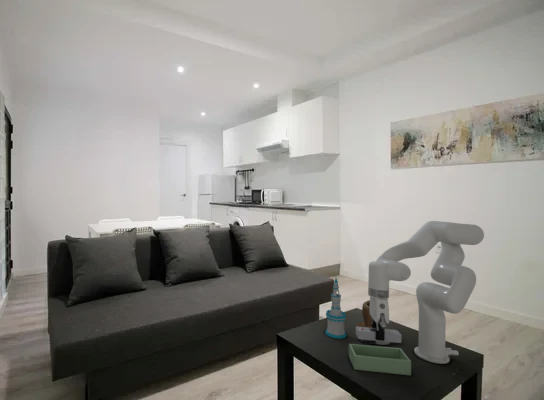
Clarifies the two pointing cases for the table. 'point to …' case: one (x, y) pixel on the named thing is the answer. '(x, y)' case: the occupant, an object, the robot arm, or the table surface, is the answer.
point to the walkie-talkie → (375, 342)
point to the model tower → (335, 315)
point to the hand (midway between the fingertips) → (377, 336)
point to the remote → (371, 334)
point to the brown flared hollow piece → (366, 316)
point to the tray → (379, 359)
